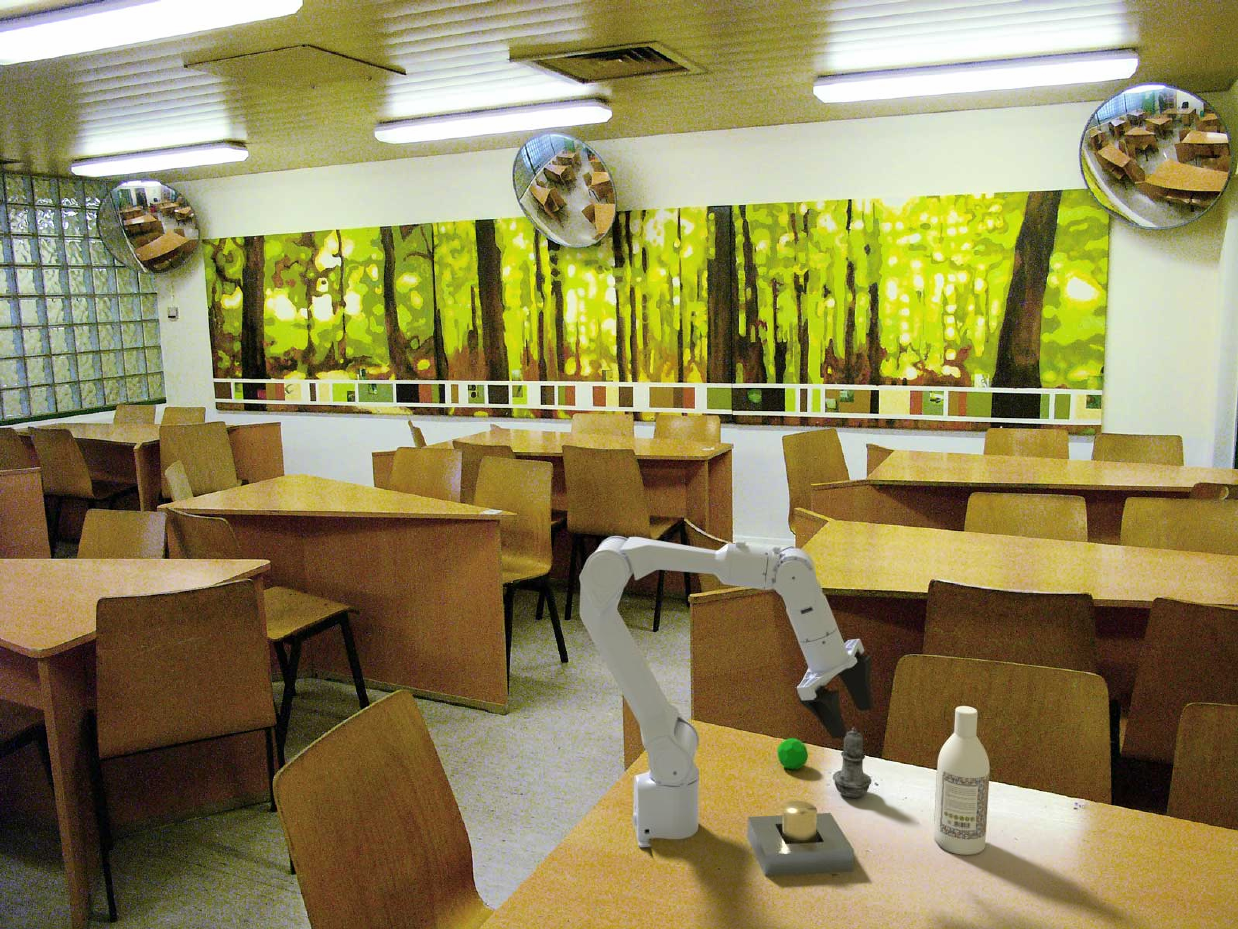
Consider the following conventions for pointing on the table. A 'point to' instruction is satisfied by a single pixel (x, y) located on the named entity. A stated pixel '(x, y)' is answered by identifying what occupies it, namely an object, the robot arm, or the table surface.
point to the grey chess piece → (852, 767)
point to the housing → (799, 848)
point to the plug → (799, 822)
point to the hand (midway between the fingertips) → (853, 723)
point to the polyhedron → (792, 753)
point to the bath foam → (962, 788)
